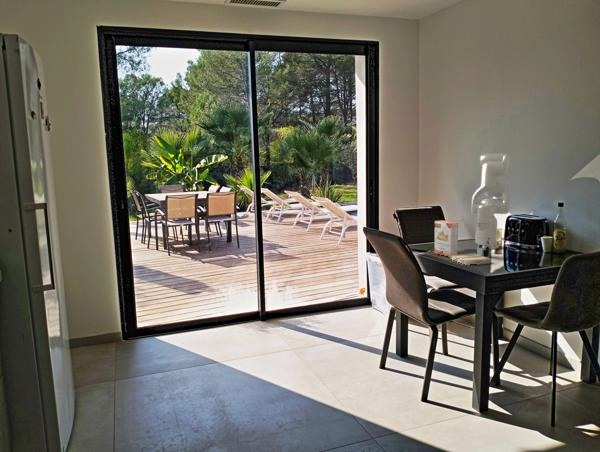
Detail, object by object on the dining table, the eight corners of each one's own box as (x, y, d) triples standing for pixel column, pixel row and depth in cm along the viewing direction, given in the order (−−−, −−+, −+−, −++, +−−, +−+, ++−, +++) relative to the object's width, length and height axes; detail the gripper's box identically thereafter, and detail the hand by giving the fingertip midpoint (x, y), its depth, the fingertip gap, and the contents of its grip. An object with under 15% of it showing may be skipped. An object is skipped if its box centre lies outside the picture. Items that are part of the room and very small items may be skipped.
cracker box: (433, 254, 298) (434, 220, 295) (441, 253, 301) (441, 219, 298) (450, 258, 286) (451, 223, 283) (457, 257, 289) (458, 222, 285)
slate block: (476, 256, 290) (477, 247, 289) (484, 255, 291) (484, 247, 290) (481, 257, 285) (482, 249, 284) (489, 257, 286) (489, 248, 286)
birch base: (450, 259, 283) (450, 255, 283) (474, 257, 287) (474, 253, 286) (465, 265, 268) (465, 261, 267) (490, 263, 272) (491, 258, 271)
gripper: (470, 224, 293) (469, 253, 295) (487, 228, 276) (486, 259, 279) (481, 223, 294) (480, 252, 297) (498, 227, 278) (497, 258, 281)
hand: (483, 255), depth 288 cm, fingers closed on slate block, 5 cm apart
